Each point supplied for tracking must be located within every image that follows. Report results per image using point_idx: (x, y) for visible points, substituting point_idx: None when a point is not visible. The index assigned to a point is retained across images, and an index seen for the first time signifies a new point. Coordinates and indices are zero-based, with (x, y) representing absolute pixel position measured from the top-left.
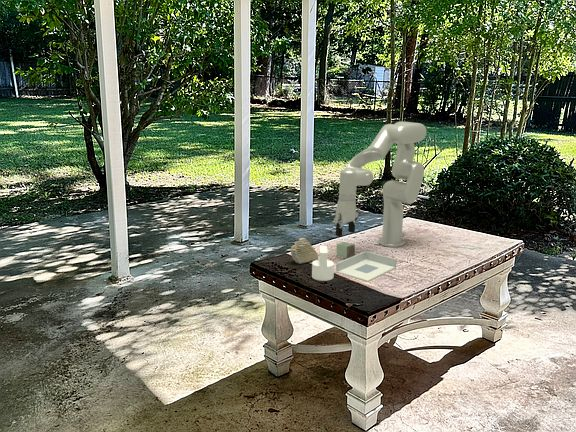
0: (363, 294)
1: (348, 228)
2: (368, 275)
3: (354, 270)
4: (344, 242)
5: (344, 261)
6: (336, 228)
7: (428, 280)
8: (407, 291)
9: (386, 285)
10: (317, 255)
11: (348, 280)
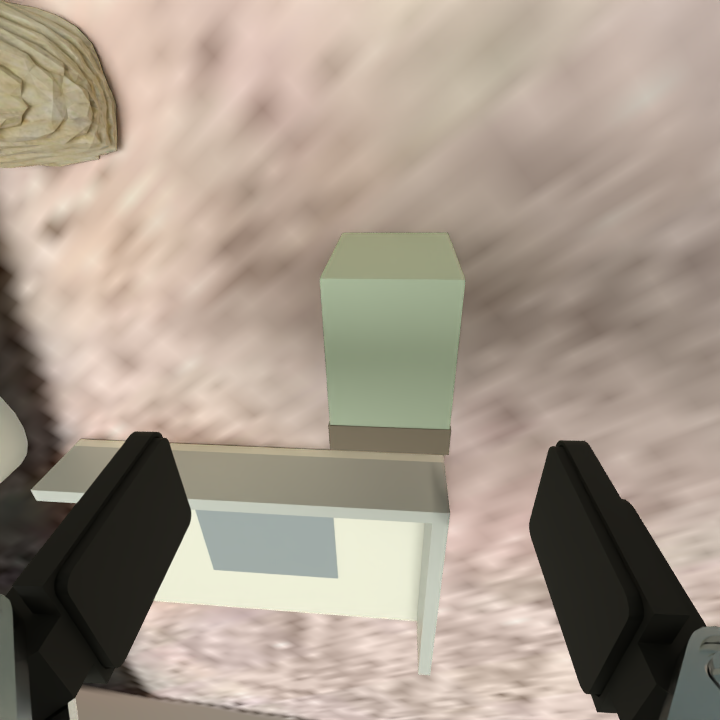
0: None
1: (575, 491)
2: (198, 582)
3: None
4: (446, 323)
5: None
6: (13, 588)
7: (380, 711)
8: (218, 694)
9: (194, 644)
10: (81, 145)
11: None
